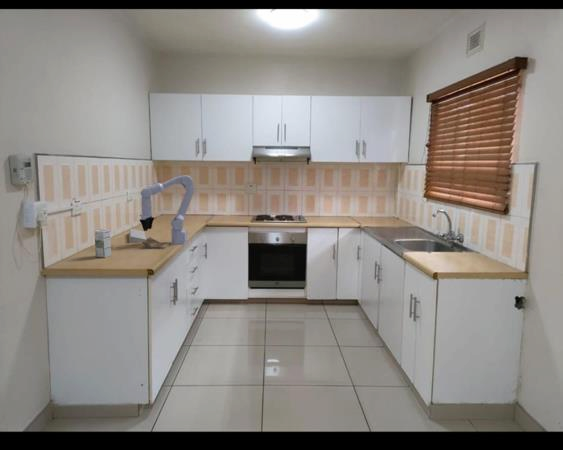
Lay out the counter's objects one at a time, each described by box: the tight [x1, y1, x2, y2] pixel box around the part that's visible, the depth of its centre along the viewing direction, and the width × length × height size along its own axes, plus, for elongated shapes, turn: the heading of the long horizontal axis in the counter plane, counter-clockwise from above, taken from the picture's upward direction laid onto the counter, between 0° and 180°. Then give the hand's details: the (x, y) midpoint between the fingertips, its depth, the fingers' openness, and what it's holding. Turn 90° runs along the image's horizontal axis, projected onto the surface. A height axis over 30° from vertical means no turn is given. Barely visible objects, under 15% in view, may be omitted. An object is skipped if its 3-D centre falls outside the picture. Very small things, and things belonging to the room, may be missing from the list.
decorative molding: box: [128, 228, 147, 244], centre depth 270 cm, size 34×5×10 cm
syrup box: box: [93, 229, 112, 259], centre depth 213 cm, size 6×6×14 cm
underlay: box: [140, 244, 172, 250], centre depth 241 cm, size 14×16×1 cm
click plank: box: [141, 237, 160, 250], centre depth 241 cm, size 7×14×1 cm, turn 2°
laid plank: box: [153, 241, 171, 250], centre depth 241 cm, size 6×14×1 cm, turn 2°
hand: (147, 229), depth 244 cm, fingers open, 7 cm apart
